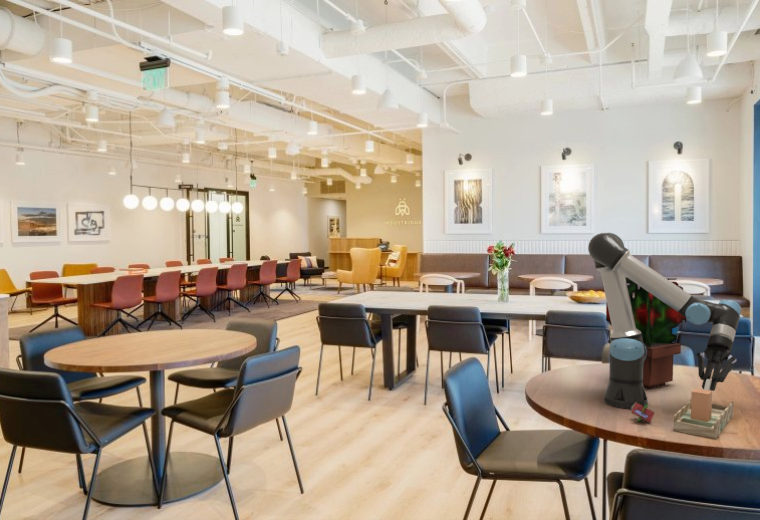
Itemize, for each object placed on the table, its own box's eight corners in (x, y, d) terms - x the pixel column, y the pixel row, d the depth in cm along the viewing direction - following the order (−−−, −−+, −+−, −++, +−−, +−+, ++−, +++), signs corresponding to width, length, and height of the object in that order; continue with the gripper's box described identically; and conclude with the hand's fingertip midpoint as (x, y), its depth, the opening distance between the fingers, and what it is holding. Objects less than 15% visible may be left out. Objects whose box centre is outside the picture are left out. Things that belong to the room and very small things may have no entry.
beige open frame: (715, 439, 180) (716, 423, 180) (673, 430, 188) (673, 415, 187) (733, 415, 203) (733, 401, 203) (694, 409, 210) (695, 395, 210)
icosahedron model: (662, 416, 195) (647, 395, 198) (656, 421, 190) (641, 399, 193) (644, 425, 199) (630, 404, 202) (637, 430, 194) (623, 408, 197)
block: (708, 421, 187) (708, 394, 187) (690, 418, 190) (691, 391, 190) (711, 418, 191) (712, 391, 191) (694, 415, 194) (695, 388, 194)
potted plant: (684, 386, 242) (687, 278, 240) (652, 393, 231) (655, 280, 229) (636, 375, 261) (638, 275, 259) (604, 381, 250) (606, 277, 247)
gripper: (744, 347, 206) (730, 406, 196) (705, 343, 216) (689, 400, 206) (738, 335, 202) (723, 395, 193) (698, 332, 212) (682, 389, 203)
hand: (705, 397), depth 199 cm, fingers closed
